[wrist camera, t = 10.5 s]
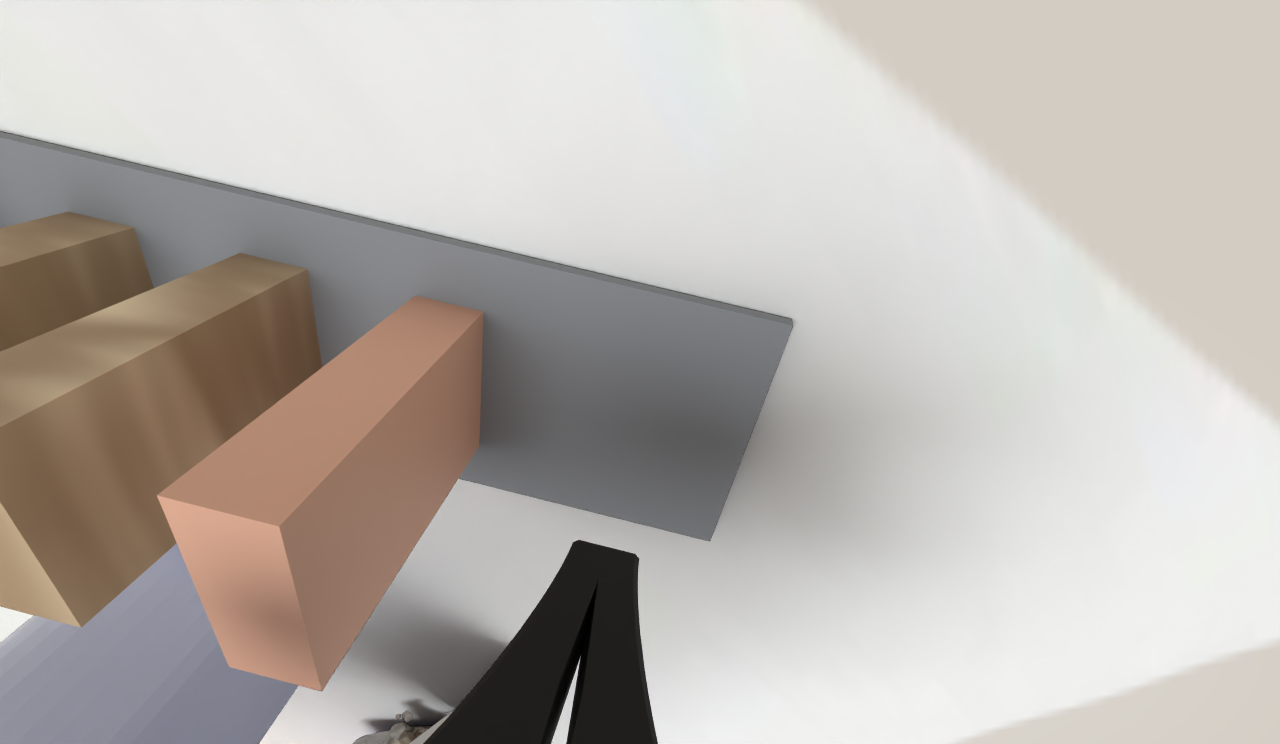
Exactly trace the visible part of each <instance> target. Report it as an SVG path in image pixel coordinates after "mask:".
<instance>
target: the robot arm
mask: <svg viewBox="0 0 1280 744" xmlns="http://www.w3.org/2000/svg"><path fill="white" fill-rule="evenodd" d="M638 564H639V558H638V557H637V556H636V554H633V553H629V552H625V551H621V550H617V549H613V548H609V547H605V546H601V545H597V544H593V543H589V542H585V541H581V540H578V541H575V542H573V544H572V546H571V548H570V551H569V553H568V555H567V557H566V559H565V561H564V563H563V564H562V566H561V568H560V570H559V572H558V573H557V575H556V577H555V578H554V580H553V582H552V583H551V585H550V586H549V588H548V590H547V591H546V593H545V594H544V596H543V597H542V599H541V600H540V602H539V603H538V605H537V606H536V608H535V609H534V610H533V612H532V613H531V615H530V616H529V618H528V619H527V620H526V622H525V623H524V625H523V626H522V628H521V629H520V630H519V632H518V633H517V634H516V636H515V637H514V638H513V640H512V641H511V642H510V643H509V645H508V646H507V647H506V649H505V650H504V651H503V652H502V654H501V655H500V656H499V657H498V659H497V660H496V661H495V663H494V664H493V665H492V666H491V668H490V669H489V670H488V671H487V673H486V674H485V675H484V676H483V677H482V679H481V680H480V681H479V682H478V683H477V685H476V686H475V687H474V688H473V689H472V690H471V692H470V693H469V694H468V695H467V696H466V697H465V699H464V700H463V701H462V702H461V703H460V704H459V705H458V706H457V708H456V709H455V710H454V711H453V712H452V713H451V714H450V715H449V717H448V718H447V719H446V720H445V721H444V722H443V723H442V724H441V725H440V726H439V727H438V728H437V729H436V730H435V731H434V733H433V734H432V735H431V736H430V737H429V738H428V739H427V740H426V741H425V742H424V743H423V744H551V742H552V739H553V736H554V733H555V730H556V727H557V724H558V721H559V718H560V715H561V712H562V709H563V706H564V703H565V701H566V698H567V695H568V692H569V689H570V686H571V683H572V680H573V677H574V674H575V671H576V668H577V665H578V662H579V659H580V664H579V670H578V676H577V682H576V689H575V695H574V701H573V707H572V713H571V719H570V725H569V731H568V737H567V743H566V744H658V742H657V737H656V732H655V727H654V722H653V717H652V712H651V706H650V700H649V695H648V689H647V682H646V676H645V669H644V661H643V653H642V644H641V636H640V625H639V611H638ZM580 656H581V658H580ZM298 686H299V685H296V684H292V683H288V682H284V681H280V680H277V679H273V678H269V677H265V676H261V675H258V674H254V673H250V672H246V671H242V670H239V669H235V668H231V667H229V666H228V664H227V661H226V659H225V657H224V654H223V652H222V649H221V647H220V645H219V642H218V640H217V638H216V635H215V633H214V630H213V628H212V626H211V623H210V621H209V618H208V616H207V614H206V611H205V609H204V607H203V604H202V602H201V599H200V597H199V595H198V592H197V590H196V588H195V585H194V583H193V580H192V578H191V576H190V573H189V571H188V569H187V566H186V564H185V561H184V559H183V557H182V554H181V552H180V549H179V547H178V545H177V543H176V544H175V545H174V546H173V547H172V548H171V549H170V550H169V551H167V552H166V553H165V554H164V555H163V556H162V557H161V558H160V559H158V560H157V561H156V562H155V563H154V564H153V565H152V566H151V567H149V568H148V569H147V570H146V571H145V572H144V573H143V574H141V575H140V576H139V577H138V578H137V579H136V580H135V581H134V582H132V583H131V584H130V585H129V586H128V587H127V588H126V589H125V590H123V591H122V592H121V593H120V594H119V595H118V596H117V597H116V598H114V599H113V600H112V601H111V602H110V603H109V604H108V605H107V606H105V607H104V608H103V609H102V610H101V611H100V612H99V613H98V614H96V615H95V616H94V617H93V618H92V619H91V620H90V621H89V622H87V623H86V624H85V625H84V626H83V627H82V628H80V627H77V626H73V625H69V624H65V623H61V622H58V621H54V620H50V619H46V618H42V617H39V616H35V615H34V616H32V617H31V618H30V619H29V620H27V621H26V622H25V623H24V624H22V625H21V626H20V627H19V628H18V629H16V630H15V631H14V632H13V633H11V634H10V635H9V636H8V637H6V638H5V639H4V640H3V641H1V642H0V744H259V743H260V741H261V740H262V738H263V737H264V735H265V734H266V732H267V731H268V730H269V728H270V727H271V725H272V724H273V722H274V721H275V719H276V718H277V716H278V715H279V713H280V712H281V711H282V709H283V708H284V706H285V705H286V703H287V702H288V700H289V699H290V697H291V696H292V694H293V693H294V692H295V690H296V689H297V687H298Z"/></svg>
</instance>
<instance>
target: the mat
mask: <svg viewBox="0 0 1280 744" xmlns="http://www.w3.org/2000/svg"><path fill="white" fill-rule="evenodd" d="M68 211H69V212H73V213H77V214H81V215H85V216H89V217H94V218H98V219H102V220H106V221H110V222H114V223H119V224H123V225H127V226H131V227H134V229H135V232H136V235H137V238H138V241H139V244H140V247H141V250H142V253H143V256H144V259H145V262H146V265H147V268H148V271H149V274H150V277H151V280H152V284H153V287H154V288H156V287H158V286H161V285H163V284H166V283H168V282H171V281H173V280H175V279H178V278H180V277H183V276H185V275H188V274H190V273H192V272H195V271H197V270H200V269H202V268H205V267H207V266H209V265H212V264H214V263H217V262H219V261H221V260H224V259H226V258H229V257H231V256H234V255H236V254H238V253H243V254H247V255H251V256H255V257H260V258H264V259H268V260H272V261H276V262H280V263H285V264H289V265H293V266H297V267H301V268H305V269H307V272H308V278H309V284H310V291H311V297H312V304H313V310H314V316H315V323H316V329H317V335H318V342H319V348H320V355H321V361H322V367H323V366H325V365H326V364H327V363H329V362H330V361H331V360H332V359H334V358H335V357H336V356H338V355H339V354H340V353H342V352H343V351H344V350H345V349H347V348H348V347H349V346H351V345H352V344H353V343H354V342H356V341H357V340H358V339H360V338H361V337H362V336H363V335H365V334H366V333H367V332H369V331H370V330H371V329H373V328H374V327H375V326H376V325H378V324H379V323H380V322H382V321H383V320H384V319H385V318H387V317H388V316H389V315H391V314H392V313H393V312H395V311H396V310H397V309H398V308H400V307H401V306H402V305H404V304H405V303H406V302H407V301H409V300H410V299H411V298H413V297H414V296H415V295H416V296H420V297H424V298H429V299H433V300H437V301H441V302H445V303H449V304H454V305H458V306H462V307H466V308H470V309H474V310H479V311H483V312H484V315H483V347H482V378H481V409H480V440H479V447H478V449H477V450H476V452H475V453H474V455H473V456H472V458H471V459H470V461H469V463H468V464H467V466H466V467H465V469H464V470H463V472H462V474H461V475H460V477H459V478H458V479H462V480H466V481H470V482H474V483H478V484H482V485H486V486H490V487H494V488H498V489H502V490H506V491H510V492H514V493H518V494H522V495H526V496H530V497H534V498H538V499H542V500H546V501H550V502H554V503H558V504H562V505H566V506H570V507H574V508H578V509H582V510H586V511H590V512H594V513H598V514H602V515H606V516H610V517H614V518H618V519H622V520H626V521H630V522H634V523H638V524H642V525H646V526H650V527H654V528H658V529H662V530H666V531H670V532H674V533H678V534H682V535H686V536H690V537H694V538H698V539H702V540H706V541H710V540H711V538H712V535H713V532H714V530H715V527H716V525H717V522H718V519H719V517H720V514H721V512H722V509H723V507H724V504H725V501H726V499H727V496H728V494H729V491H730V488H731V486H732V483H733V481H734V478H735V475H736V473H737V470H738V468H739V465H740V462H741V460H742V457H743V455H744V452H745V450H746V447H747V444H748V442H749V439H750V437H751V434H752V431H753V429H754V426H755V424H756V421H757V418H758V416H759V413H760V411H761V408H762V405H763V403H764V400H765V398H766V395H767V393H768V390H769V387H770V385H771V382H772V380H773V377H774V374H775V372H776V369H777V367H778V364H779V361H780V359H781V356H782V354H783V351H784V349H785V346H786V343H787V341H788V338H789V336H790V333H791V330H792V328H793V322H792V319H789V318H784V317H780V316H776V315H772V314H768V313H763V312H759V311H755V310H751V309H747V308H742V307H738V306H734V305H730V304H725V303H721V302H717V301H713V300H709V299H704V298H700V297H696V296H692V295H688V294H683V293H679V292H675V291H671V290H666V289H662V288H658V287H654V286H650V285H645V284H641V283H637V282H633V281H628V280H624V279H620V278H616V277H612V276H607V275H603V274H599V273H595V272H591V271H586V270H582V269H578V268H574V267H569V266H565V265H561V264H557V263H553V262H548V261H544V260H540V259H536V258H532V257H527V256H523V255H519V254H515V253H510V252H506V251H502V250H498V249H494V248H489V247H485V246H481V245H477V244H472V243H468V242H464V241H460V240H456V239H451V238H447V237H443V236H439V235H435V234H430V233H426V232H422V231H418V230H413V229H409V228H405V227H401V226H397V225H392V224H388V223H384V222H380V221H376V220H371V219H367V218H363V217H359V216H354V215H350V214H346V213H342V212H338V211H333V210H329V209H325V208H321V207H316V206H312V205H308V204H304V203H300V202H295V201H291V200H287V199H283V198H279V197H274V196H270V195H266V194H262V193H257V192H253V191H249V190H245V189H241V188H236V187H232V186H228V185H224V184H220V183H215V182H211V181H207V180H203V179H198V178H194V177H190V176H186V175H182V174H177V173H173V172H169V171H165V170H160V169H156V168H152V167H148V166H144V165H139V164H135V163H131V162H127V161H123V160H118V159H114V158H110V157H106V156H101V155H97V154H93V153H89V152H85V151H80V150H76V149H72V148H68V147H64V146H59V145H55V144H51V143H47V142H42V141H38V140H34V139H30V138H26V137H21V136H17V135H13V134H9V133H4V132H0V228H2V227H7V226H11V225H15V224H19V223H23V222H27V221H31V220H35V219H39V218H43V217H48V216H52V215H56V214H60V213H64V212H68Z"/></svg>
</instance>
